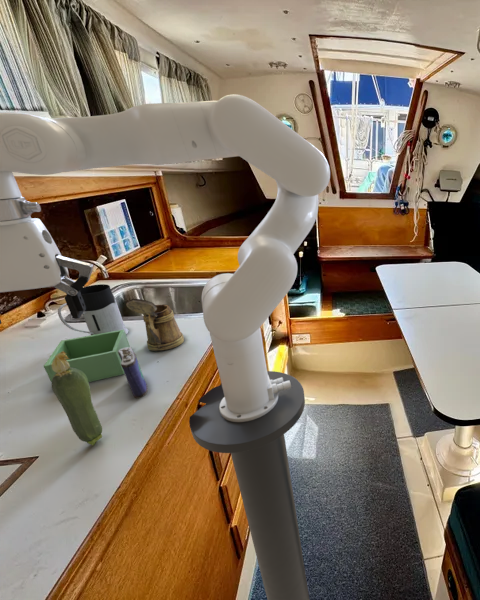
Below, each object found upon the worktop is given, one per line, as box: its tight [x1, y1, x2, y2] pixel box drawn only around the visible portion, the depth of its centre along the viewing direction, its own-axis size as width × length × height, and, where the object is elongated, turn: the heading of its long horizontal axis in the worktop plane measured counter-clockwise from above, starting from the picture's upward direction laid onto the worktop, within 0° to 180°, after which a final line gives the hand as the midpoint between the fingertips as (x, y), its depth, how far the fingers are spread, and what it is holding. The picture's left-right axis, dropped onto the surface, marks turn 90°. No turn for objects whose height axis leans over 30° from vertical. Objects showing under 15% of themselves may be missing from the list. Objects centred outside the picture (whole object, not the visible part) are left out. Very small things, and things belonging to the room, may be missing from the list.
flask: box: [118, 346, 148, 399], centre depth 74 cm, size 9×3×11 cm, turn 43°
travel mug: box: [57, 283, 129, 335], centre depth 91 cm, size 9×14×15 cm, turn 172°
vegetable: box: [51, 352, 103, 446], centre depth 58 cm, size 4×4×20 cm
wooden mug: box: [125, 298, 185, 352], centre depth 88 cm, size 9×14×18 cm, turn 14°
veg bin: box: [43, 330, 131, 383], centre depth 81 cm, size 13×13×7 cm
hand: (38, 321), depth 51 cm, fingers open, 9 cm apart
